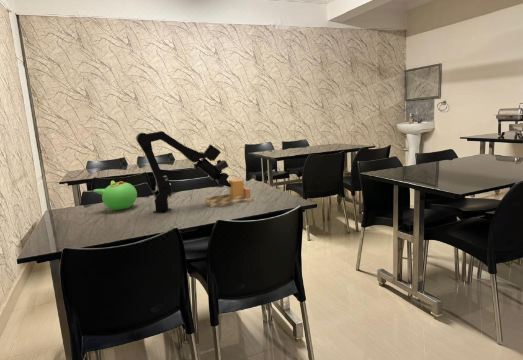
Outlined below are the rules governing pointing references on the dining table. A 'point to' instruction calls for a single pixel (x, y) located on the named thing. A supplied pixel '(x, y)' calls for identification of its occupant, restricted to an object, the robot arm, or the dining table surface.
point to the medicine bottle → (170, 185)
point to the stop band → (247, 192)
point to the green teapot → (118, 195)
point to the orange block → (236, 187)
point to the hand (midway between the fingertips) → (230, 186)
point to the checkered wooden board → (225, 200)
